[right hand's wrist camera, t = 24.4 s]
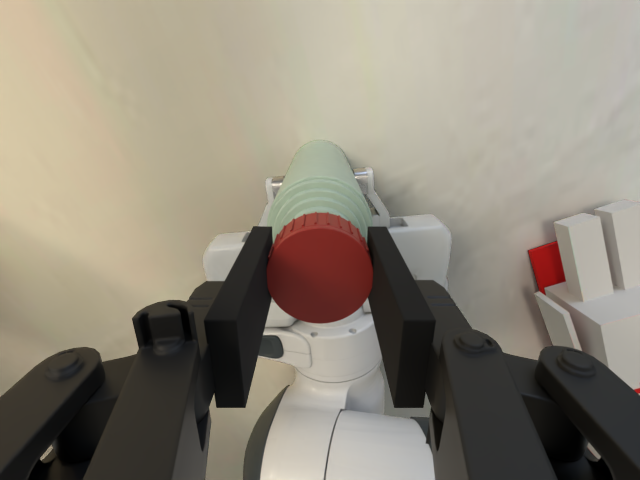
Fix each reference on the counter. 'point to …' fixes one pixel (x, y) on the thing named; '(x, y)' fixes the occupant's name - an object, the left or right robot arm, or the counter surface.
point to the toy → (594, 287)
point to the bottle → (319, 189)
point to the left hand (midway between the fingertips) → (318, 173)
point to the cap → (319, 268)
